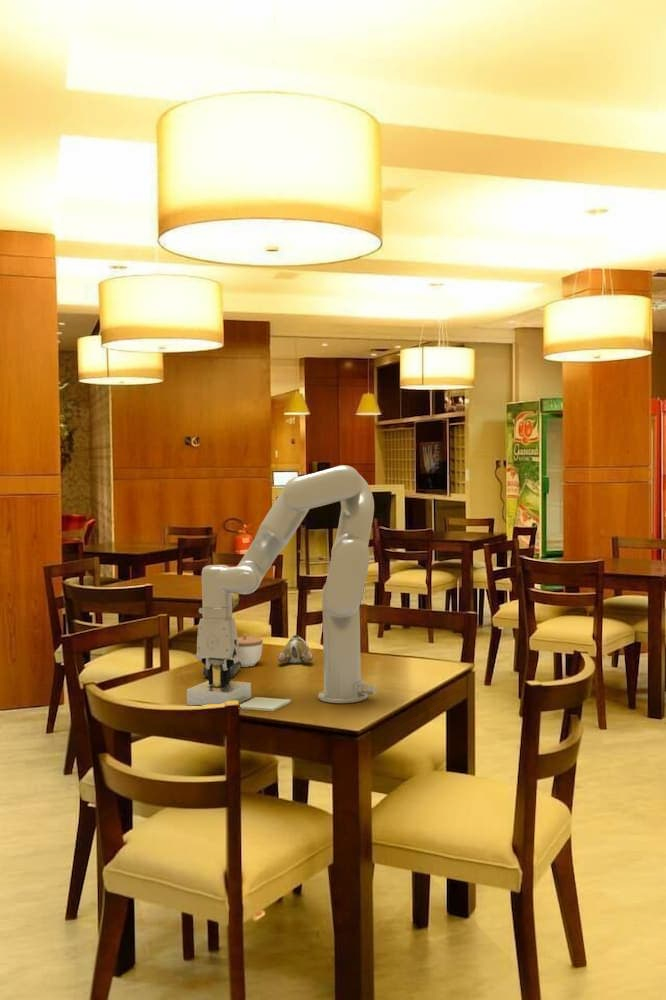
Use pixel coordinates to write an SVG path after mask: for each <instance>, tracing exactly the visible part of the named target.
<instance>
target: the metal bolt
mask: <svg viewBox="0 0 666 1000" xmlns="http://www.w3.org/2000/svg"><path fill="white" fill-rule="evenodd" d="M227 663H228V660H227ZM208 664H211V665H212V687H213V688H224V686H222V685H221V671H222V670H223V666H222V664H224V659H214V658H210V659H209V658H208Z"/></svg>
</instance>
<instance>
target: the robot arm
mask: <svg viewBox="0 0 666 1000" xmlns="http://www.w3.org/2000/svg"><path fill="white" fill-rule="evenodd" d="M338 502H340V515H339V520H338V525H337V526H338V527H337V531H336V536H335V538H334V539H335V540H334V542H333V545H332V547H331V548H332V549H331V557H330V561H329V566H328V571H327V577H326V582H325V583H324V585H323V587H322V591H321V605H322V607H321V608H322V633H323V635H322V636H323V638H322V641H323V645H322V646H323V647H322V648H323V688H324V690H322V691H320V692H319V693H318V697H317V698H318V700H320V701H321V702H324V703H331V704H351V703H358V702H362V701H365V700H367V698H368V695H375V694H376V691H377V689H376V686H375V685H373V684H371V685H368V684H367V685H366V682H365V679H362V673H361V672H362V671H361V669H362V668H361V620H360V619H361V617H360V615H361V614H360V613H361V611H360V605H361V603H362V598H363V593H364V590H365V584H366V580H367V575H368V571H369V570H368V569H369V564H370V557H371V555H370V550H369V543H370V538H371V533H372V527H373V519H374V513H375V500H374V496H373V492H372V489H371V487H370V486H369V483H368V482H367V481H366V479H364V477H363V476H362V475H361V474H360V473H359V472H358V471H357V469H355V468H354V467H353V466H350V465H346V464H345V465H344V464H339V465H337V466H334V467H331V468H328V469H327V468H326V469H323V470H320V471H317V472H313V473H309V474H305V475H300V476H294V477H292V478H291V479H289V480H288V481H287V482H286V484H285V485H284V487H283V489H282V490H281V492H280V493H279V495H278V496H277V498H276V500H275V502H274V503H273V504H272V506H271V508H270V509H269V511H268V512H267V514H266V515H265V517H264V519H263V520H262V521H261V524H260V525H259V527H258V530H257V533H256V534H255V537H254V539H253V540H252V542H251V544H250V545H249V547H248V549H247V550H246V552H245V553H244V555H243V557H241V560H240V561H239V563H238V564H237V566H229V565H226V564H210V565H205V566H204V567H202V569H201V570H202V571H201V596H202V598H201V599H202V607H199V609H198V614H202V615H201V616H202V618H199V622H198V627H197V637H196V638H197V639H196V653H195V658H196V659H197V660H199V661H200V662H201V663H202V664H203V665H204V667H205V666H206V669H208V677H207V681H209V685H212V665H211V664H208V658H209V659H210V658H214V659H224V664H222V666H223V670H222V671H221V685H222V686H225V685H228V684H229V682H230V681H231V678H230V669H231V668H232V666H233V665H234V664H235V663H236V662H238V661H240V660H242V657H241V655H240V652H239V650H238V637H239V636H238V630H237V623H236V621H235V618H233V612H232V593H236V594H239V595H250V594H252V593H254V592H255V591H256V590H258V588H259V587H260V585H261V582H262V581H263V579H264V577H265V576H266V574H267V572H268V571H269V569H270V568H271V566H272V564H273V563H274V562H275V560H276V558H277V557H278V556H279V554H280V553H281V551H282V550H284V549H285V547H286V546H287V545H288V543H289V542H290V540H291V539H292V537H293V536H294V534H295V533H296V531H297V530H298V528H299V526H300V525H301V524H302V522H303V520H304V519H305V517H306V516H307V514H308V513H309V511H310V509H315V508H318V507H323V506H326V505H330V504H334V503H338ZM231 656H234V658H233V659H231ZM227 660H228V663H227Z"/></svg>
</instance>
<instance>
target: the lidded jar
mask: <svg viewBox="0 0 666 1000" xmlns="http://www.w3.org/2000/svg"><path fill="white" fill-rule="evenodd" d="M238 650H239V652H240V655H241V657H242V660H240V662H241V668H248V667H249V666H250V667H254V666H256V664H257V662H259V660H260V659H261V657H262V652H263V639H262V638H260V637H256V636H247V634H246V633H245V634H242V636H238Z"/></svg>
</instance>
